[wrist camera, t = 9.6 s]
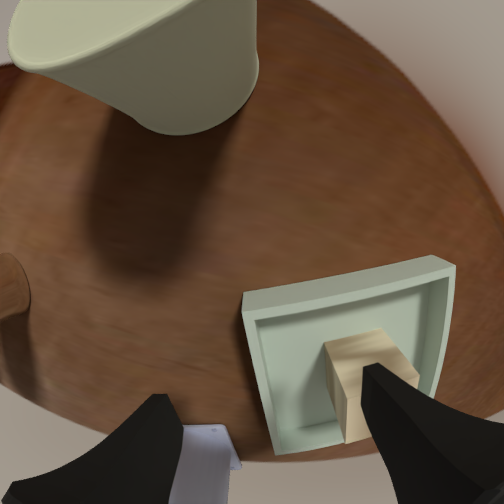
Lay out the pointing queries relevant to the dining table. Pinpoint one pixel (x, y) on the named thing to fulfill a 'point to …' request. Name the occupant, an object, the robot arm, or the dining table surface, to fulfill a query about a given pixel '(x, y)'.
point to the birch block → (360, 375)
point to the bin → (339, 326)
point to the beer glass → (12, 288)
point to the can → (145, 55)
